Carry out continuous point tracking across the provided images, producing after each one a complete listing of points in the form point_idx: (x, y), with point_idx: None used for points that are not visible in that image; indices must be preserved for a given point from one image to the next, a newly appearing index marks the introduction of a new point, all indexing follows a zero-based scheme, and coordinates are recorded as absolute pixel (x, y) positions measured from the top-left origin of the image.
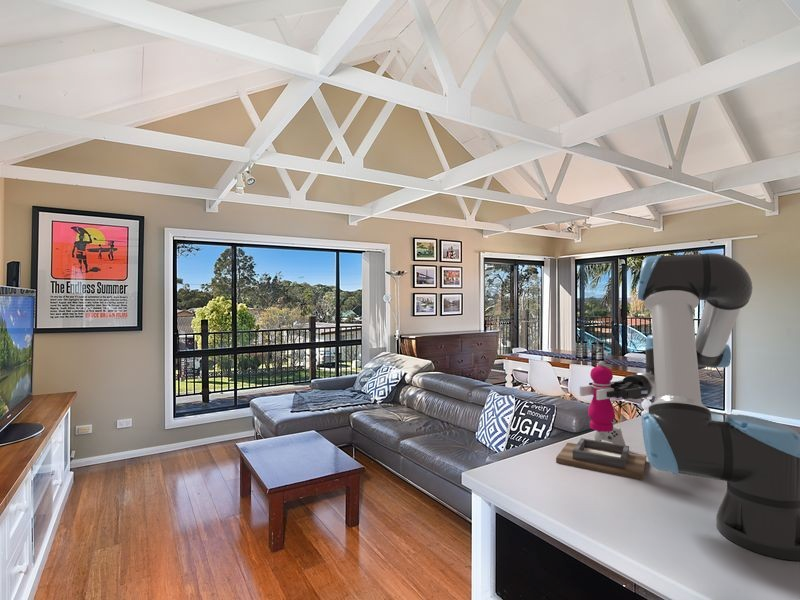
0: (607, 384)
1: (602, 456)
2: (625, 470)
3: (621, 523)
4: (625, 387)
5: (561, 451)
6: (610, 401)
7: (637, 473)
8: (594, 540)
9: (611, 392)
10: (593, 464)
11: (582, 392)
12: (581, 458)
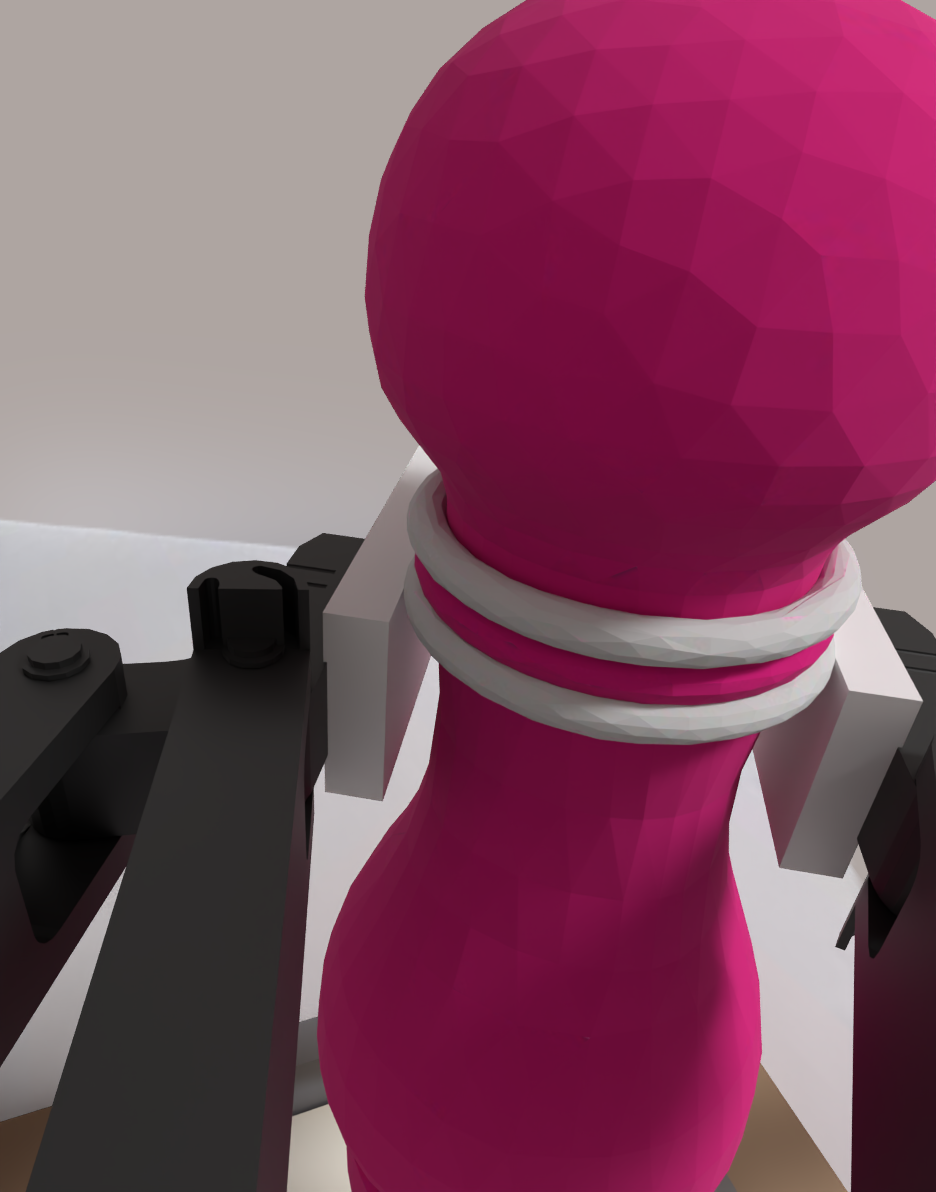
0: (436, 474)
1: None
2: None
3: (87, 622)
4: (59, 1084)
5: (762, 1076)
6: (403, 870)
7: (41, 1112)
8: (147, 534)
9: (300, 548)
10: None
11: None
12: None
